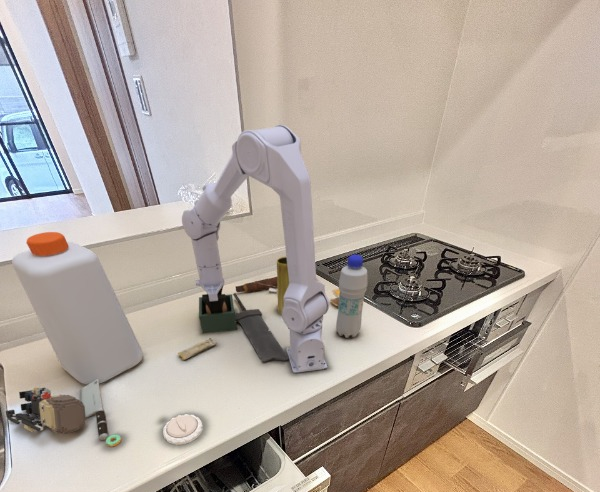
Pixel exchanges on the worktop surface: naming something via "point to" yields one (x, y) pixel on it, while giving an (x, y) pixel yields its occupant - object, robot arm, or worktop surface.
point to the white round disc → (182, 429)
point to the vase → (282, 281)
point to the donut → (118, 440)
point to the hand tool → (258, 285)
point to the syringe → (271, 289)
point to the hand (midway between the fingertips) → (217, 313)
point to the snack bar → (196, 349)
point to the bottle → (351, 297)
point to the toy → (49, 411)
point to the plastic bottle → (77, 308)
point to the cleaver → (94, 406)
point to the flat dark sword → (259, 334)
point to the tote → (217, 317)
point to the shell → (336, 293)
